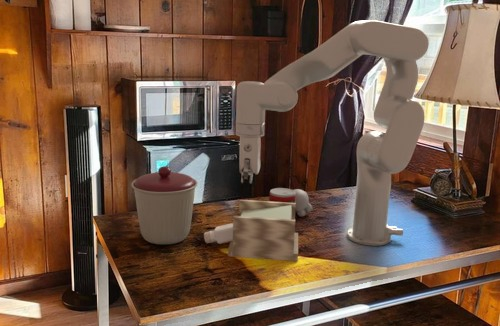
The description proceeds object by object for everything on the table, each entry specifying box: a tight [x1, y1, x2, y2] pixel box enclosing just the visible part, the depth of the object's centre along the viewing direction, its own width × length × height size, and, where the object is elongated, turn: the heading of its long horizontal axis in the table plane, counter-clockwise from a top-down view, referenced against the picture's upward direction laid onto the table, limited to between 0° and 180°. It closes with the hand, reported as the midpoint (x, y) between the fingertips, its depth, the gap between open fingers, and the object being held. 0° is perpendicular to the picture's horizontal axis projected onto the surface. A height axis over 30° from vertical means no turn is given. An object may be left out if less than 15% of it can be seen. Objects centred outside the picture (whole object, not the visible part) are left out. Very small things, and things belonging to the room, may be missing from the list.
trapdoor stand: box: [227, 199, 299, 262], centre depth 135 cm, size 18×15×11 cm
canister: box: [130, 165, 199, 246], centre depth 138 cm, size 18×18×21 cm
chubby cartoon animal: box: [293, 188, 314, 218], centre depth 162 cm, size 7×12×8 cm, turn 118°
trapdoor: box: [241, 205, 292, 220], centre depth 135 cm, size 14×12×2 cm
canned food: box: [268, 187, 296, 203], centre depth 152 cm, size 8×8×11 cm
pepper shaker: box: [203, 222, 233, 245], centre depth 137 cm, size 4×4×10 cm
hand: (248, 191), depth 133 cm, fingers open, 9 cm apart
